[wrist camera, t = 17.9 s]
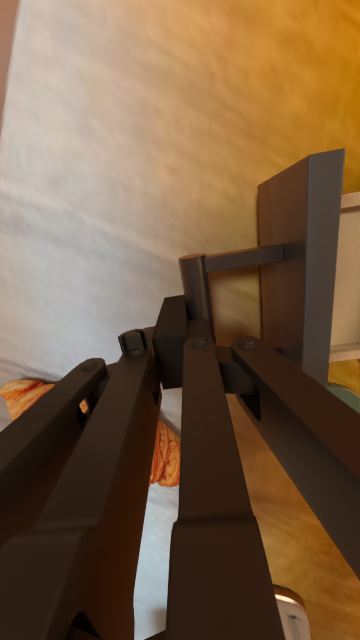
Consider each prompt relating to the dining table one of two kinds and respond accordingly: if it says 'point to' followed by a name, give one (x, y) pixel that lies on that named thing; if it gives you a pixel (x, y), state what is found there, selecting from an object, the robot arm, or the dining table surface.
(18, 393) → the croissant
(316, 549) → the dining table surface
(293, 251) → the drawer
